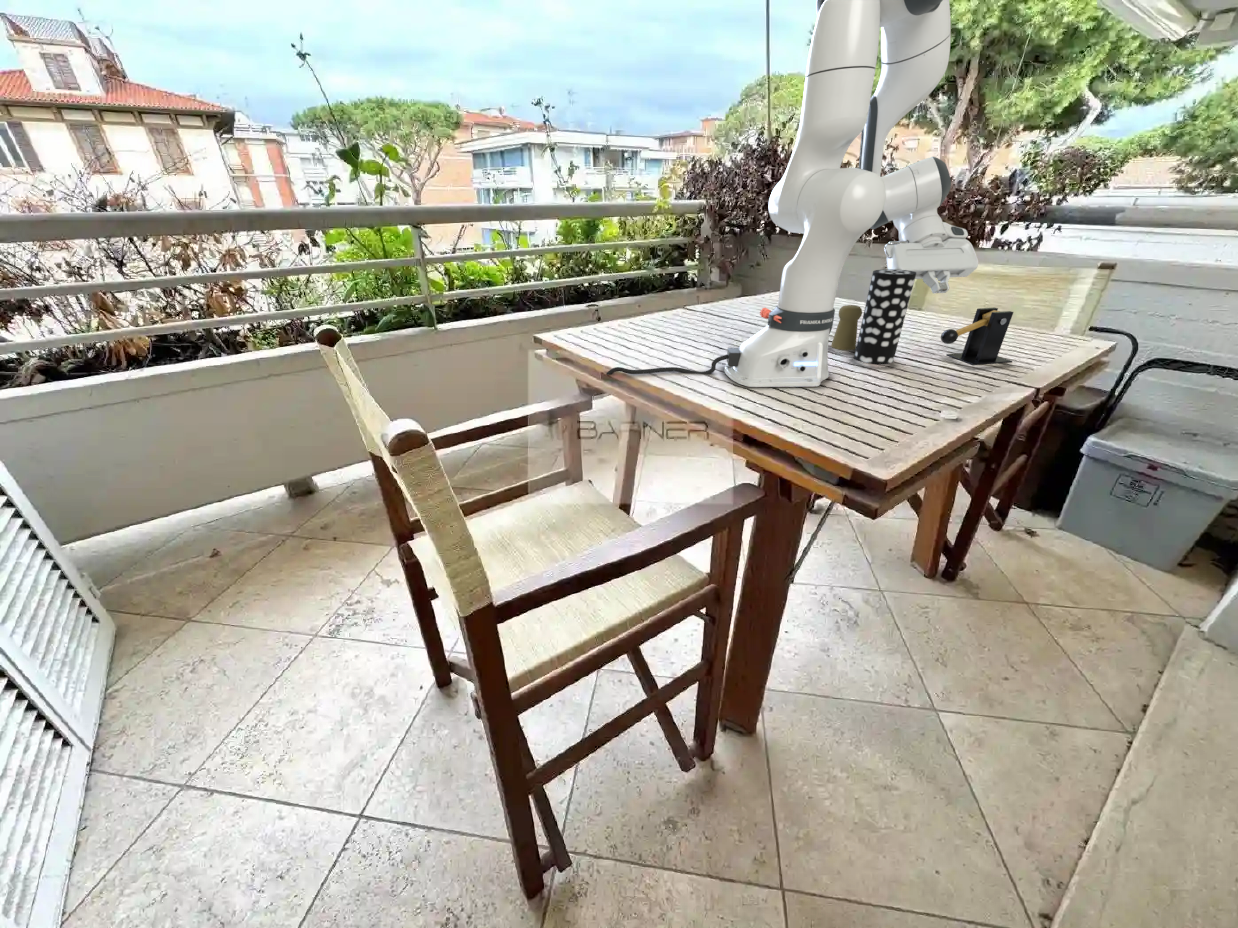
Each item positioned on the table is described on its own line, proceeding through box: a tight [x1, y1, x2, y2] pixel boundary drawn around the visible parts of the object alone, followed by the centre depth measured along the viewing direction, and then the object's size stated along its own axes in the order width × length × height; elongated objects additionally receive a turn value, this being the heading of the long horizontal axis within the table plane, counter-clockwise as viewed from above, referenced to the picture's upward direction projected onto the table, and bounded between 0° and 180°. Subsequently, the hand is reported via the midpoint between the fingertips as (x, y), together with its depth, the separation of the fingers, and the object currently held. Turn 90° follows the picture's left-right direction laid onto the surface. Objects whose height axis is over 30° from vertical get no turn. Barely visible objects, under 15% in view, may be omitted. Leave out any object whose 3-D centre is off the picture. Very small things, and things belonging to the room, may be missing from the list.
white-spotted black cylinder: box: [853, 268, 916, 365], centre depth 108 cm, size 8×8×20 cm
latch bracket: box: [945, 307, 1014, 366], centre depth 109 cm, size 10×8×12 cm
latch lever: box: [940, 310, 1001, 345], centre depth 107 cm, size 13×3×3 cm, turn 99°
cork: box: [830, 304, 863, 351], centre depth 120 cm, size 6×6×11 cm
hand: (941, 291), depth 108 cm, fingers closed
